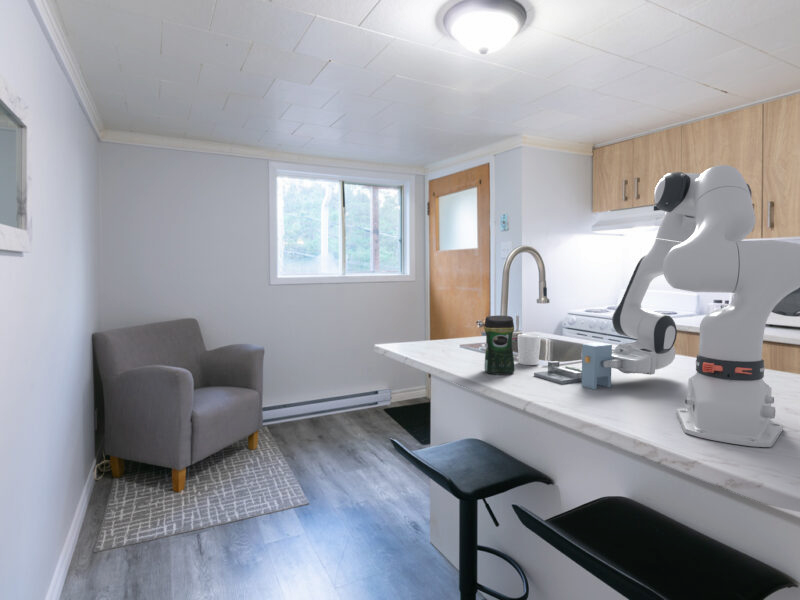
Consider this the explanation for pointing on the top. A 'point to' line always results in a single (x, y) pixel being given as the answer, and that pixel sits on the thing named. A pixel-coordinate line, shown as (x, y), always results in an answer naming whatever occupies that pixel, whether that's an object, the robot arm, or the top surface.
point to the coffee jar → (499, 344)
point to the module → (596, 365)
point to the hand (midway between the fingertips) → (594, 362)
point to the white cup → (529, 349)
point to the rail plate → (556, 377)
